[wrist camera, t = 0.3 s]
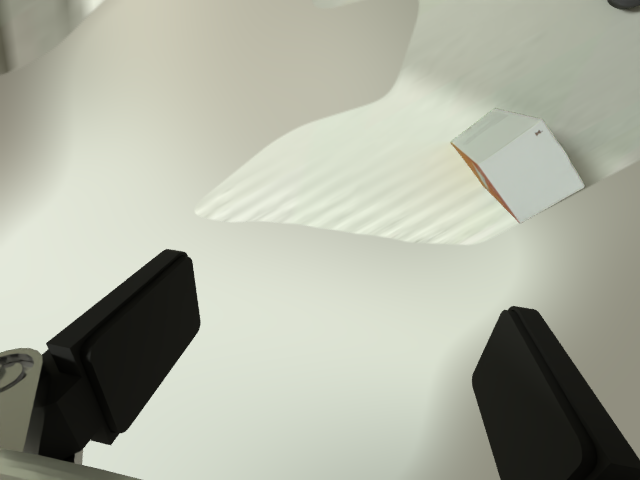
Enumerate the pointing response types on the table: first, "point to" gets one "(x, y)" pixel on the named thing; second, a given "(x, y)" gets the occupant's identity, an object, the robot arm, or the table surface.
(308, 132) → the table surface
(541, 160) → the small box
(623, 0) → the cable upright
